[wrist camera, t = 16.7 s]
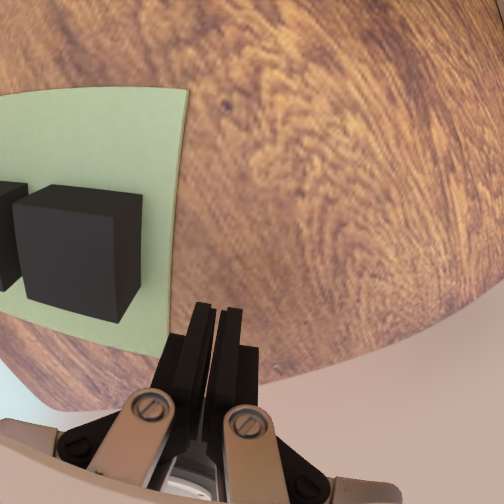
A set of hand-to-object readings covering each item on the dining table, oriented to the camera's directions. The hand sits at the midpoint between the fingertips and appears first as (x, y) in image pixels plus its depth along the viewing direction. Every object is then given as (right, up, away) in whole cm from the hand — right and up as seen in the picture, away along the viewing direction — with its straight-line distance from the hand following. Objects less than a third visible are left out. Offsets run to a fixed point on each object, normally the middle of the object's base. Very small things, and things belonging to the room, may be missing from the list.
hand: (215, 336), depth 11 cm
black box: (-8, +4, +6) cm, 11 cm away
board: (-12, +5, +7) cm, 15 cm away
